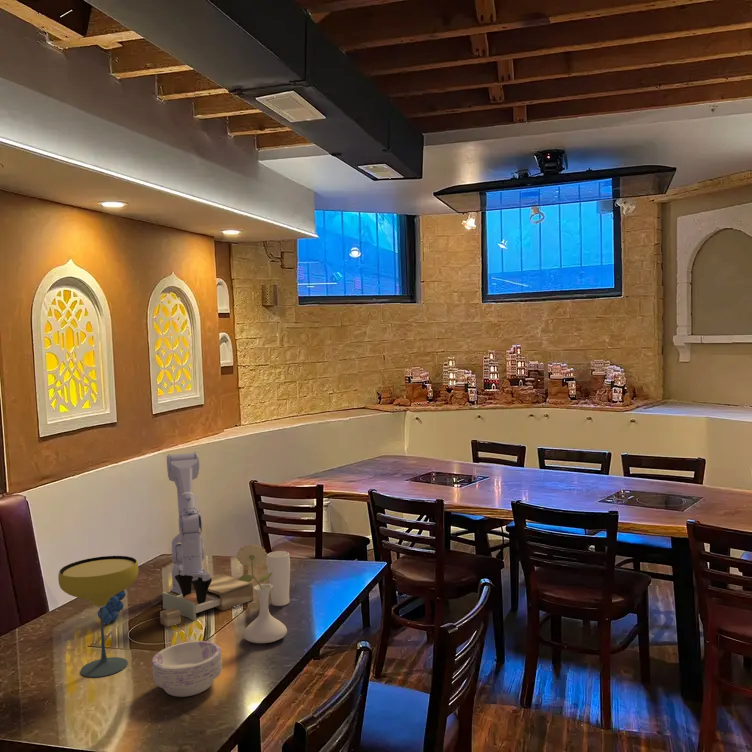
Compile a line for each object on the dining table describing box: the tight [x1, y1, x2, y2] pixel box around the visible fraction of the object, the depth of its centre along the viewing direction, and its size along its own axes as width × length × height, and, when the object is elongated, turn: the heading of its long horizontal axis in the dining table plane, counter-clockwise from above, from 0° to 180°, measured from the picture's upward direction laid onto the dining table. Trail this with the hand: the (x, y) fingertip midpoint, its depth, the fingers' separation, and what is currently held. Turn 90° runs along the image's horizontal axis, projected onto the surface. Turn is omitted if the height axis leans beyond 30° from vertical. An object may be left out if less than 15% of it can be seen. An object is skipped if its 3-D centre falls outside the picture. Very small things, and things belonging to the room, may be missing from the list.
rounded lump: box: [184, 593, 198, 605], centre depth 215 cm, size 5×5×2 cm
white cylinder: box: [266, 550, 291, 607], centre depth 216 cm, size 7×7×15 cm
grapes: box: [97, 589, 127, 625], centre depth 207 cm, size 12×7×12 cm, turn 165°
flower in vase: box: [235, 543, 288, 644], centre depth 190 cm, size 13×11×25 cm
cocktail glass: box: [57, 555, 139, 679], centre depth 176 cm, size 18×18×25 cm
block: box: [159, 608, 182, 628], centre depth 204 cm, size 4×4×4 cm
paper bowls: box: [151, 640, 223, 698], centre depth 163 cm, size 15×15×8 cm
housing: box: [191, 573, 254, 611], centre depth 222 cm, size 16×11×5 cm
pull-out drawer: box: [161, 590, 220, 621], centre depth 215 cm, size 16×10×5 cm, turn 47°
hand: (194, 600), depth 215 cm, fingers open, 7 cm apart
